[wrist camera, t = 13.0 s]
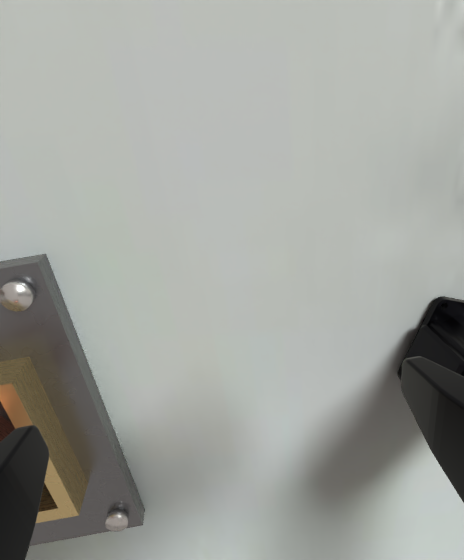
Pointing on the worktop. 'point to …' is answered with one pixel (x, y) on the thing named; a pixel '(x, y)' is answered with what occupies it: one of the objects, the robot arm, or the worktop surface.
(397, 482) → the worktop surface
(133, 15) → the worktop surface
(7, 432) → the copper cylinder
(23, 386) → the gray mounting plate
